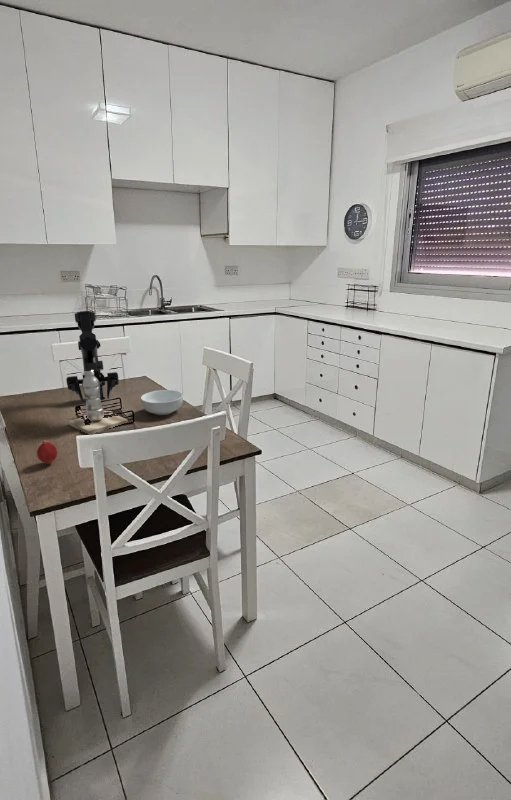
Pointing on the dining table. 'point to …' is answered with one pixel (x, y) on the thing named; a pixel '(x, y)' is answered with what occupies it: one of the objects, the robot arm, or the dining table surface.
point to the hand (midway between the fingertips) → (95, 400)
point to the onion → (47, 452)
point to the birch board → (98, 424)
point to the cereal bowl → (162, 401)
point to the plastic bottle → (92, 396)
